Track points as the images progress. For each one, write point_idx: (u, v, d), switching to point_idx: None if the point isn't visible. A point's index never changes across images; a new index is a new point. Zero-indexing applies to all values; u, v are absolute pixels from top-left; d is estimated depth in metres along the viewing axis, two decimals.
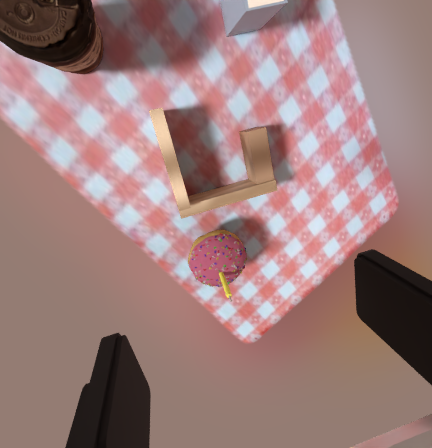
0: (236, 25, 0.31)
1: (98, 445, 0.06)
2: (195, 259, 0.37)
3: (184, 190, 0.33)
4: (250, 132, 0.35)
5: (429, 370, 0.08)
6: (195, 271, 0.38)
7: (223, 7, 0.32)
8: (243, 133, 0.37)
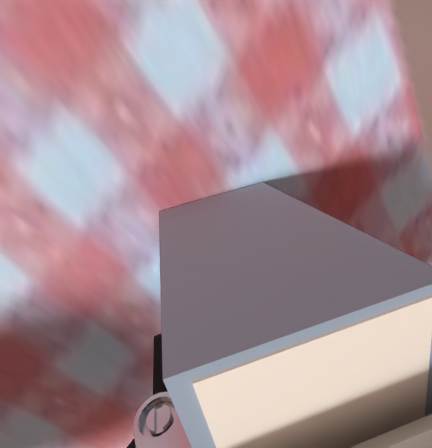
0: None
1: None
2: None
3: None
4: None
5: None
6: None
7: None
8: None
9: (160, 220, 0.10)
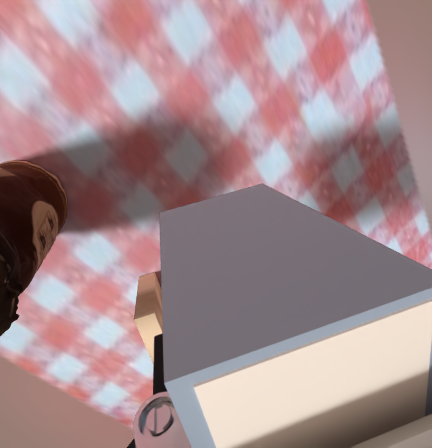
0: None
1: None
2: None
3: None
4: None
5: None
6: None
7: None
8: None
9: (161, 222, 0.10)
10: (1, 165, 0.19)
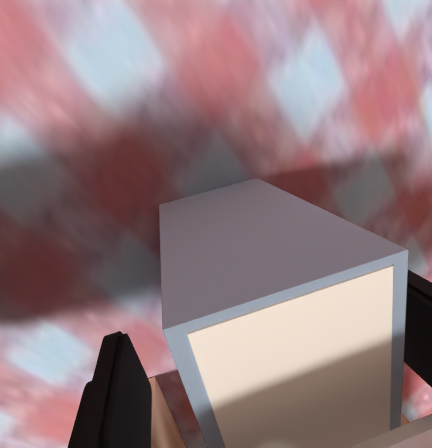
0: None
1: (101, 442, 0.06)
2: None
3: None
4: None
5: (426, 369, 0.08)
6: None
7: None
8: None
9: (160, 211, 0.11)
10: None
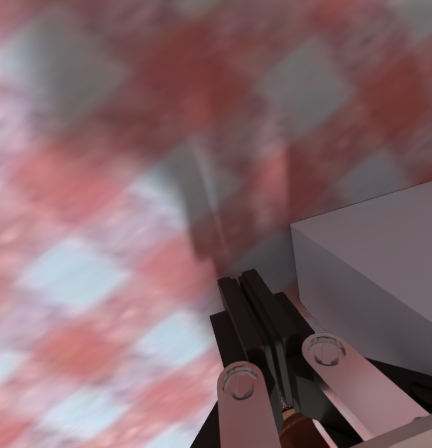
0: None
1: (262, 340, 0.08)
2: None
3: None
4: None
5: (279, 384, 0.09)
6: None
7: None
8: None
9: (313, 316, 0.13)
10: None
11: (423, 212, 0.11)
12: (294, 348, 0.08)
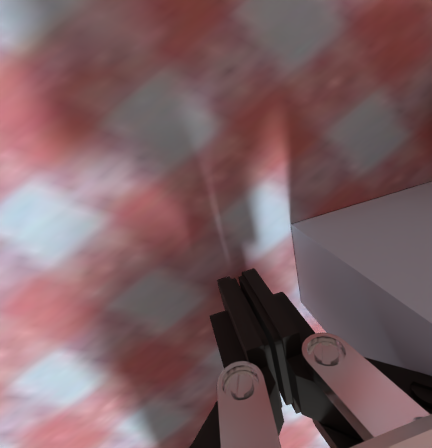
0: None
1: (262, 340, 0.08)
2: None
3: None
4: None
5: (279, 384, 0.09)
6: None
7: None
8: None
9: (314, 317, 0.13)
10: None
11: (425, 213, 0.11)
12: (294, 348, 0.08)
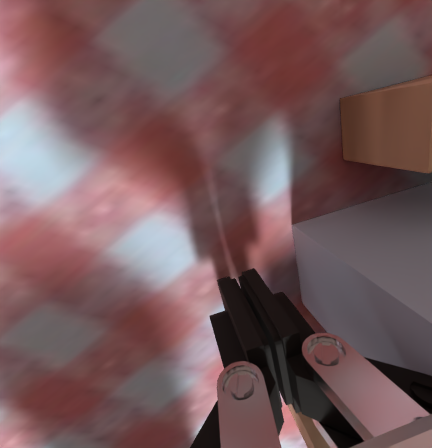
0: None
1: (262, 340, 0.08)
2: None
3: None
4: None
5: (279, 384, 0.09)
6: None
7: None
8: None
9: (315, 317, 0.13)
10: None
11: (425, 213, 0.11)
12: (294, 348, 0.08)
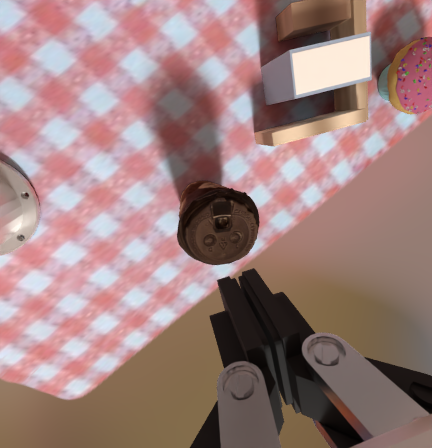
0: None
1: (262, 340, 0.08)
2: (417, 106, 0.34)
3: (347, 114, 0.32)
4: (294, 26, 0.30)
5: (279, 384, 0.09)
6: (429, 106, 0.34)
7: None
8: (287, 36, 0.32)
9: (269, 104, 0.34)
10: None
11: None
12: (294, 348, 0.08)
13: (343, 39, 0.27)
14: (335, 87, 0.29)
